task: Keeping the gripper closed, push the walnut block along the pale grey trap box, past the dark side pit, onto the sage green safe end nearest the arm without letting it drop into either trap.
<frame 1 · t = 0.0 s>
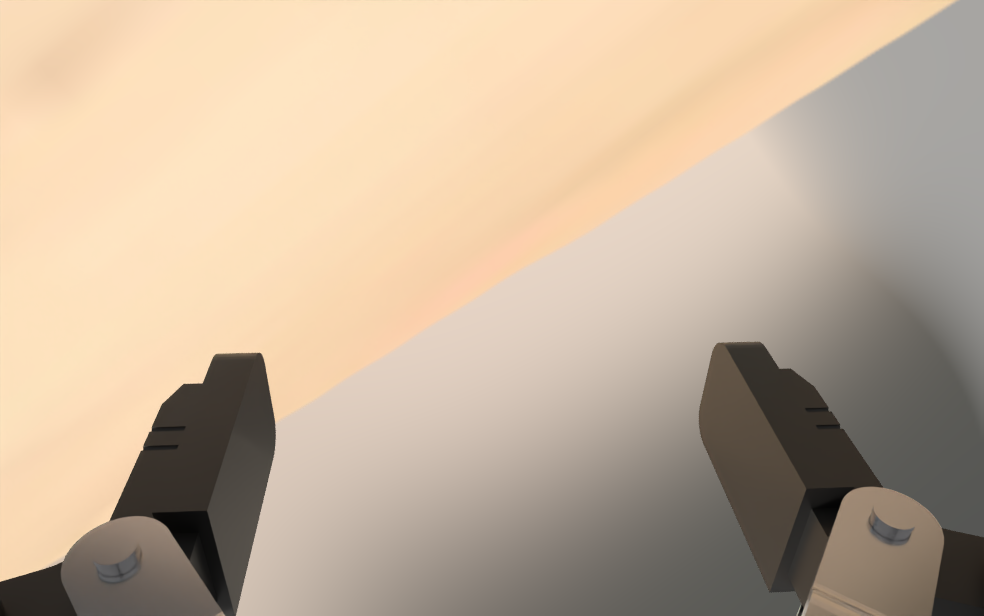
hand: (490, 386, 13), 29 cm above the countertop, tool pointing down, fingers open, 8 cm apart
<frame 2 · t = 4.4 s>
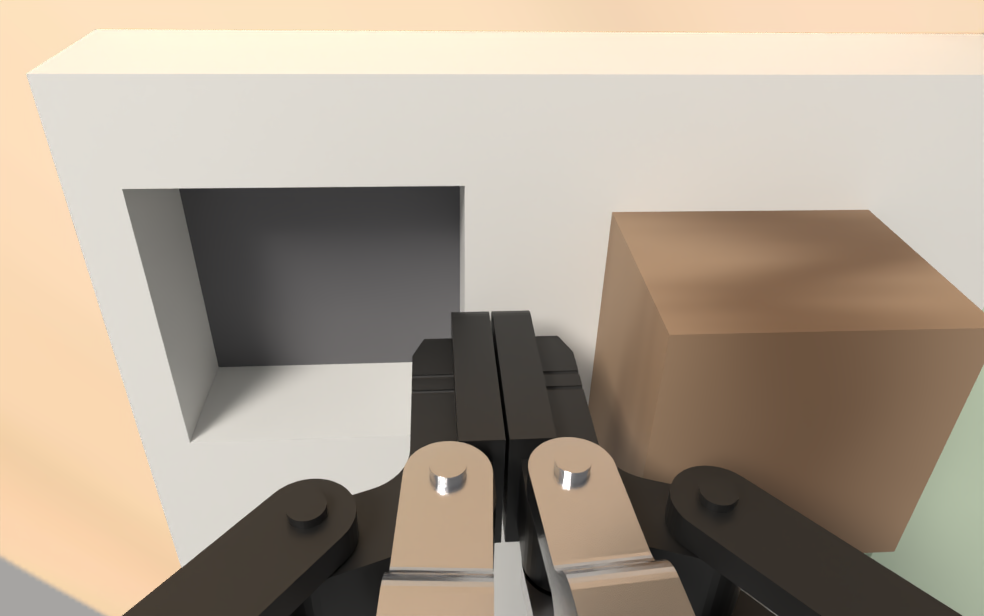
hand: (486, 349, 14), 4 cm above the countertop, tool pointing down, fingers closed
walnut block: (717, 320, 16), point 3 cm above the countertop, touching gripper, trap box
trap box: (669, 348, 20), on the countertop
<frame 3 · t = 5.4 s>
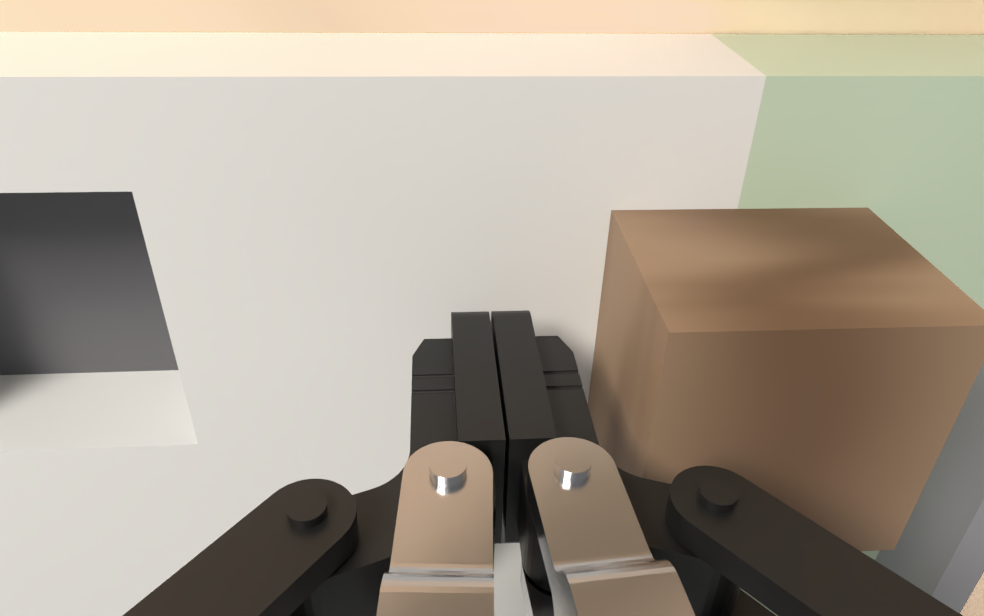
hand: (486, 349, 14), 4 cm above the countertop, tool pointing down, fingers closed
walnut block: (716, 318, 16), point 3 cm above the countertop, touching gripper, trap box
trap box: (446, 355, 19), on the countertop
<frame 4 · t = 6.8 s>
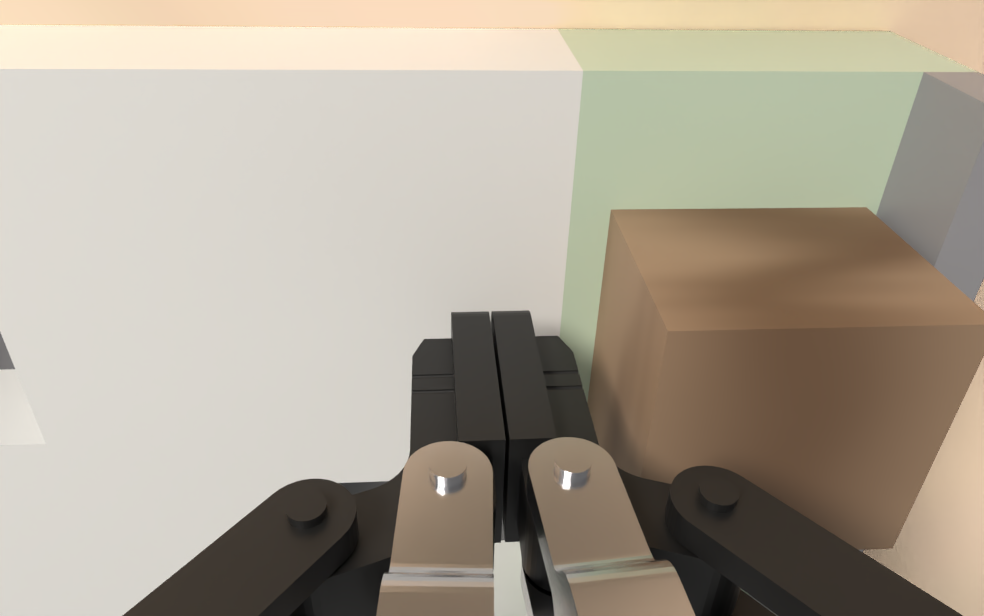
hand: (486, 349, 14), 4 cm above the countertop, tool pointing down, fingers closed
walnut block: (715, 317, 16), point 3 cm above the countertop, touching gripper, trap box
trap box: (320, 354, 19), on the countertop
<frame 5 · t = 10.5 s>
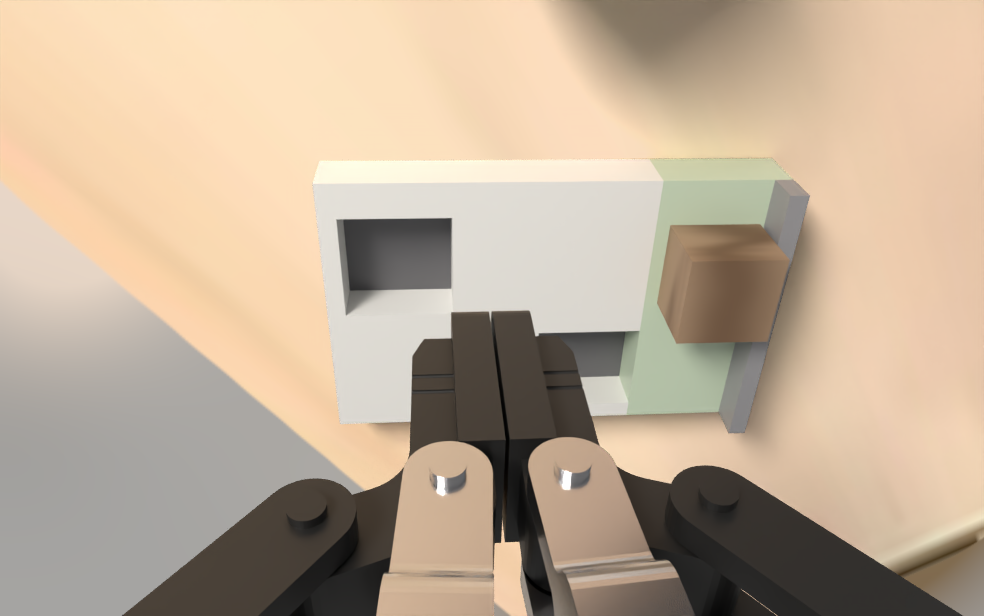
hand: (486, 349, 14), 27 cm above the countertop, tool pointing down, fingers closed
walnut block: (707, 264, 42), point 3 cm above the countertop, touching trap box
trap box: (542, 284, 46), on the countertop
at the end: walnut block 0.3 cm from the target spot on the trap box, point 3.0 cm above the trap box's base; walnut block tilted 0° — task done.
